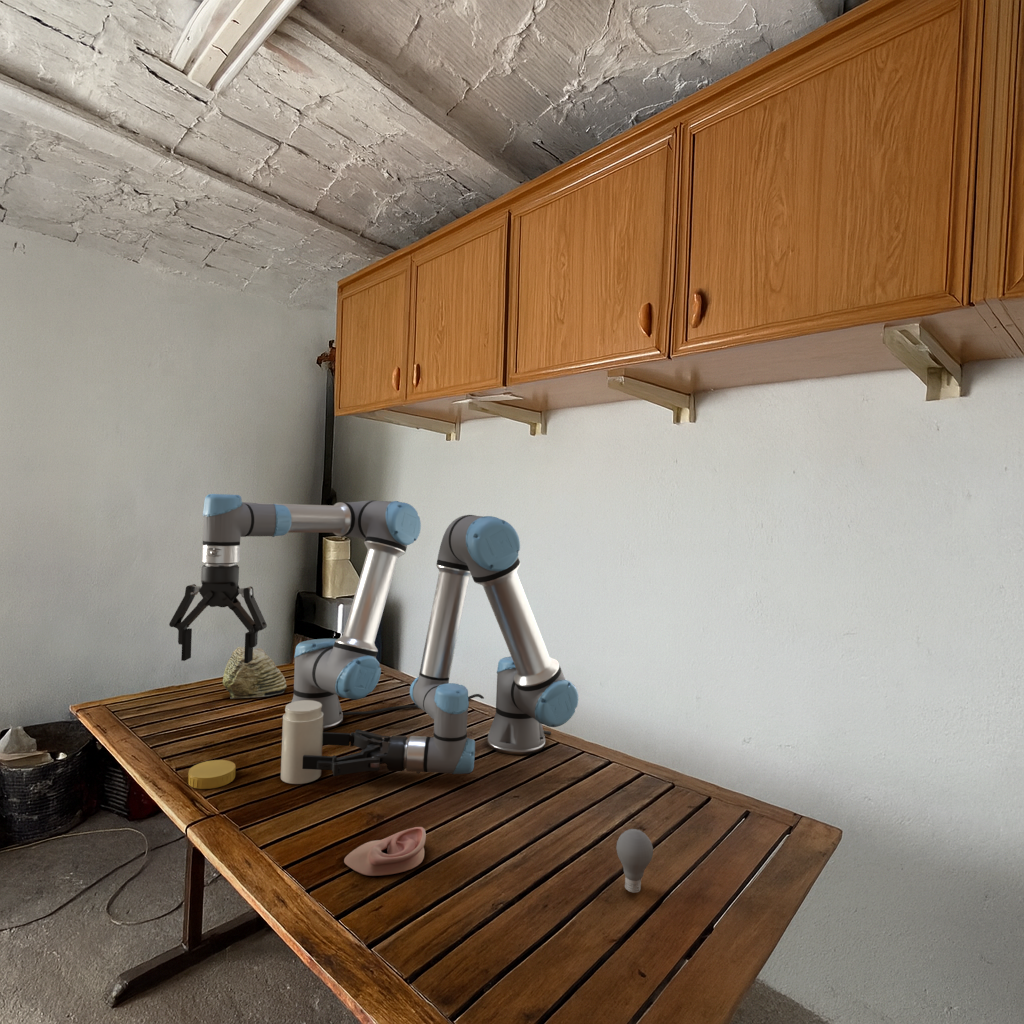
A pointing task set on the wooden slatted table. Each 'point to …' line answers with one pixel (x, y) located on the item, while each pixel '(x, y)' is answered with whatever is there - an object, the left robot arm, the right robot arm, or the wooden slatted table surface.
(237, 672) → the fossil
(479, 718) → the wooden slatted table surface
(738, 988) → the wooden slatted table surface
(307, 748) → the jar
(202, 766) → the lid
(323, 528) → the left robot arm
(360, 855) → the anatomical model
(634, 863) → the light bulb
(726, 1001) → the wooden slatted table surface
